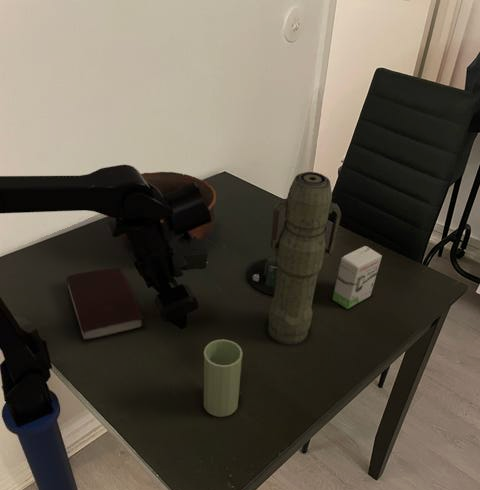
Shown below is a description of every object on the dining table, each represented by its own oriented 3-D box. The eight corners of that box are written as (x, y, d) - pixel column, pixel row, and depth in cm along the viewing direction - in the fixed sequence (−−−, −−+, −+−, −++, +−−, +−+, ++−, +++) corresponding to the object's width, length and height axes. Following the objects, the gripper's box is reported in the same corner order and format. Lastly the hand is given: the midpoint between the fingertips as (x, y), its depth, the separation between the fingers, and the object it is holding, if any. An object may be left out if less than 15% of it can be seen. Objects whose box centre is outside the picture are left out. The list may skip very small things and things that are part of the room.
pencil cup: (215, 422, 89) (217, 372, 80) (196, 398, 93) (196, 348, 84) (245, 407, 92) (249, 357, 83) (225, 384, 96) (228, 334, 87)
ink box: (347, 310, 114) (358, 267, 107) (331, 299, 117) (340, 256, 109) (371, 296, 119) (383, 254, 111) (355, 286, 122) (365, 244, 114)
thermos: (258, 316, 111) (275, 165, 88) (311, 317, 112) (341, 167, 89) (261, 344, 104) (280, 189, 81) (318, 345, 105) (352, 191, 82)
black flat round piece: (249, 257, 128) (251, 238, 125) (308, 262, 128) (311, 244, 124) (245, 293, 117) (246, 274, 113) (309, 299, 116) (313, 280, 113)
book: (122, 276, 119) (120, 265, 117) (144, 328, 106) (143, 316, 104) (67, 287, 115) (65, 275, 113) (83, 342, 102) (81, 330, 100)
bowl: (202, 283, 119) (202, 227, 109) (102, 267, 121) (93, 211, 111) (223, 229, 138) (225, 177, 128) (136, 216, 140) (131, 165, 130)
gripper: (218, 256, 75) (236, 325, 86) (176, 198, 87) (197, 265, 98) (148, 286, 73) (176, 353, 84) (115, 222, 85) (144, 288, 96)
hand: (175, 311), depth 91 cm, fingers open, 9 cm apart
